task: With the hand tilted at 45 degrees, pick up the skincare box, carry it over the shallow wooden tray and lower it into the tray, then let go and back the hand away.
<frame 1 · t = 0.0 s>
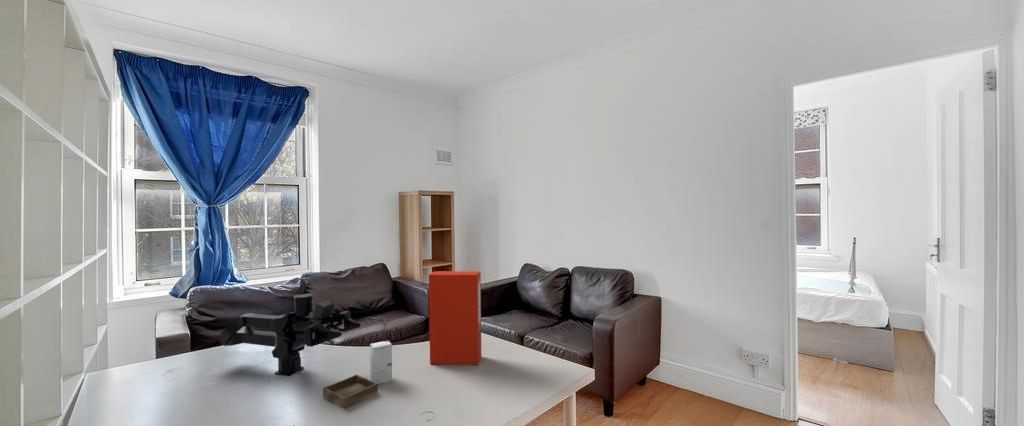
hand: (351, 329, 127), 17 cm above the table, tool horizontal, fingers open, 9 cm apart
skincare box: (381, 381, 127), on the table
shallow wooden tray: (351, 395, 118), on the table
file binder: (456, 360, 143), on the table
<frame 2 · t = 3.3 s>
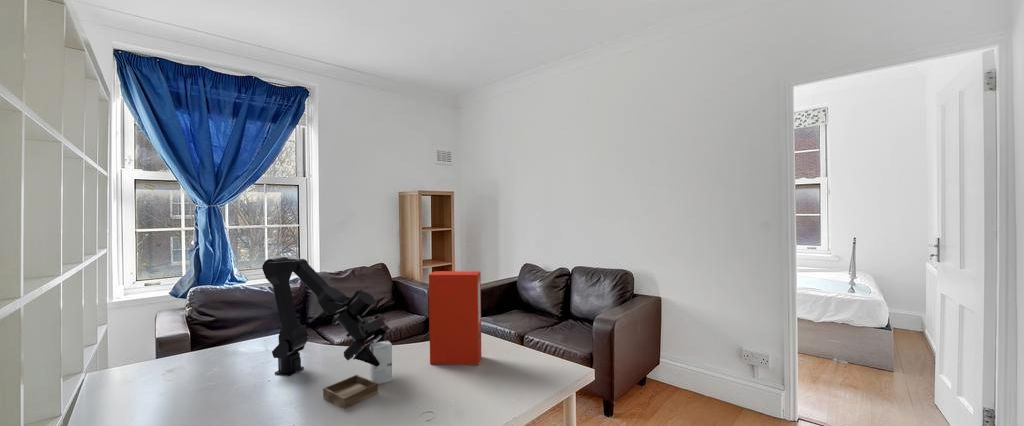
hand: (385, 360, 127), 7 cm above the table, tool tilted 45°, fingers closed on skincare box, 7 cm apart
skincare box: (381, 381, 127), on the table, touching gripper
everything else where it was.
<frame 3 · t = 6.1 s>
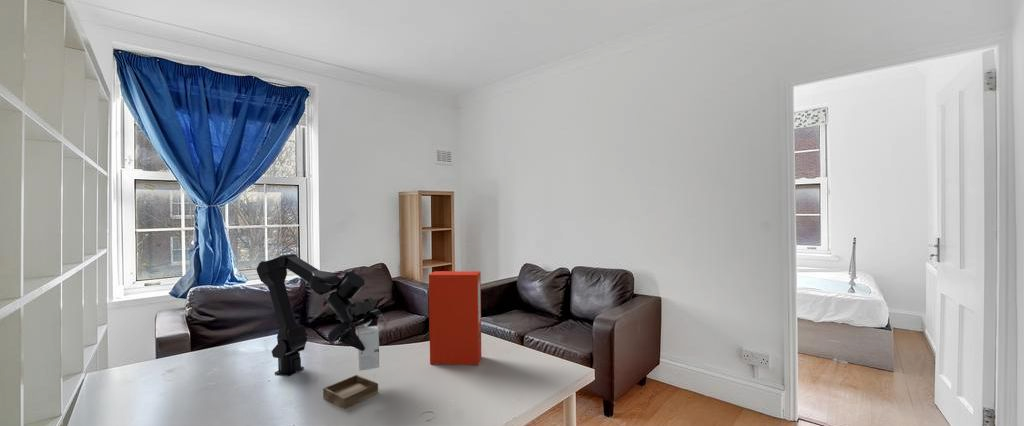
hand: (372, 346, 122), 13 cm above the table, tool tilted 45°, fingers closed on skincare box, 7 cm apart
skincare box: (369, 367, 123), point 6 cm above the table, touching gripper
everything else where it was.
when the fingers open (8 cm above the table, at t = 8.4 s): skincare box stays where it is, resting on shallow wooden tray.
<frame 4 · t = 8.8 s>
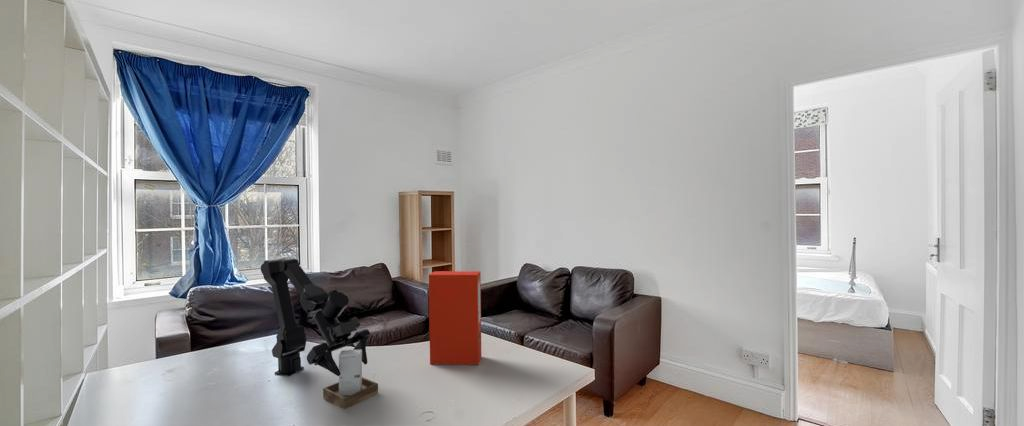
hand: (353, 369, 117), 8 cm above the table, tool tilted 45°, fingers open, 9 cm apart
skincare box: (351, 392, 118), point 1 cm above the table, touching shallow wooden tray
everything else where it was.
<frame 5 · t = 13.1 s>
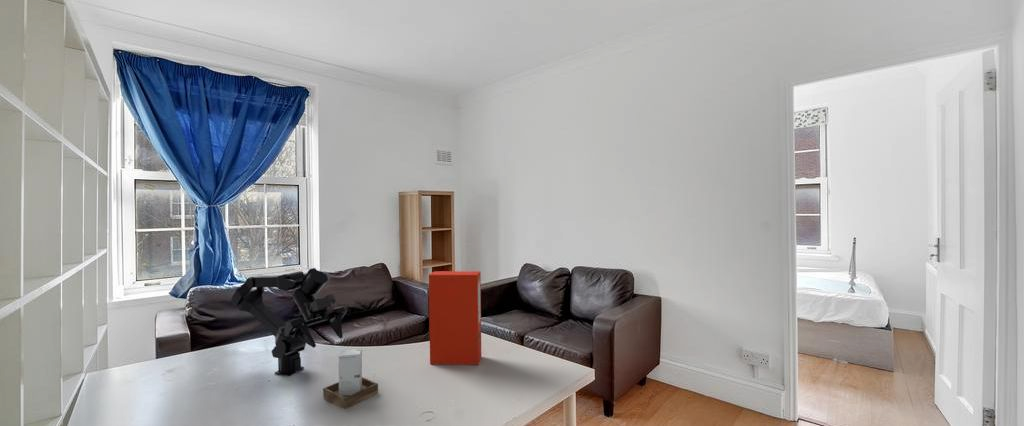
hand: (328, 342, 125), 14 cm above the table, tool tilted 45°, fingers open, 9 cm apart
nothing on the table moved.
at the end: skincare box 0.3 cm from the shallow wooden tray (horizontally); skincare box tilted 0°; the gripper is holding nothing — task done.
